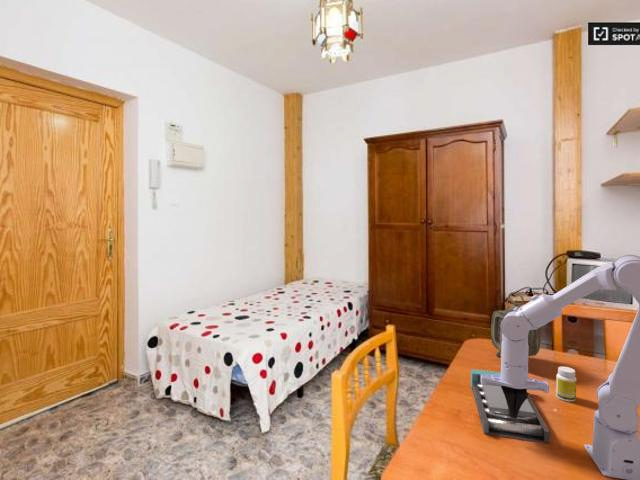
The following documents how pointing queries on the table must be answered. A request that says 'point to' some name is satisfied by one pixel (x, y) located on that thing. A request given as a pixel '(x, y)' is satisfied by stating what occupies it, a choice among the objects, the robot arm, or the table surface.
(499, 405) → the slab
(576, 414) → the table surface
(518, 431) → the roller bed
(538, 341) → the tabletop clock
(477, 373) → the end stop
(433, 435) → the table surface
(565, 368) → the supplement bottle
